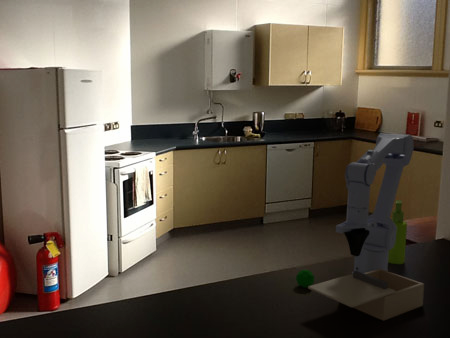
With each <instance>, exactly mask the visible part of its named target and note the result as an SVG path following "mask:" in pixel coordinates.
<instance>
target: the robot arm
mask: <svg viewBox="0 0 450 338" xmlns="http://www.w3.org/2000/svg"><path fill="white" fill-rule="evenodd" d="M414 141H415V140H414V137H413V136H412V135H411V134H401V133H400V134H399V133H398V134H397V133H386V132H381V133H379V134H378V136H377V137H376V140H375V146H374V148H373V149H368V150H367V151H366V152H365V153H364V154H363V155H362V156H361V157H360V158H359V159H358V160H356V161H353V162H350V163H349V164H348V165H347V166H346V169H345V172H344V179H345V183H346V186H345V187H346V190H347V203H346V204H347V205H346V217H345V219H346V221H343V222H342V223H340V224H336V226H335V233H338V234H344V236H345V238H346V240H347V243H348V247H349V252H350V256H354V262H353V263H354V264H353V271H351V274H352V275H353V272H354V271H358V272H361V273H366V272H370V271H373V270H377V269H383V270H385V271H388V267H389V263H388V254H389V250H391V249H392V248H393V247H394V245H395V242H396V232H397V227H396V225H395V223H394V222H393V221H392V219H391V215H392V213H393V207H394V204H395V201H396V197H397V196H396V195H397V192H398V188H399V186H400V185H399V184H400V181H401V177H402V173H403V170H404V168H405V167H407V166H408V165H410V162H411V160H412V156H413V152H414V148H415V147H414ZM383 164H384V165H385V170H384V173H383V177H382V181H381V184H380V188H379V191H378V195H377V199H376V202H375V206H374V210H373V213H372V214H370V215H369V211H370V195H371V185H372V184H373V183H374V180H375V177H376V175H377V172H378V170H379V169H380V168H381V167H382V166H383Z"/></svg>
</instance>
